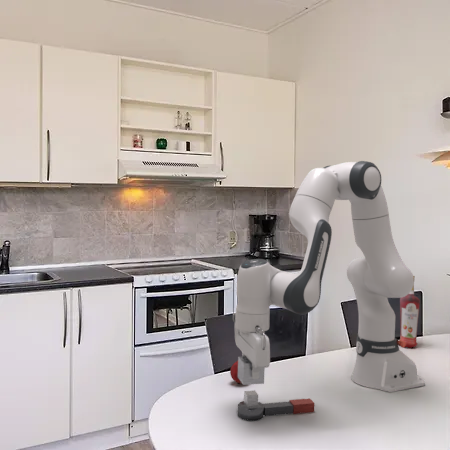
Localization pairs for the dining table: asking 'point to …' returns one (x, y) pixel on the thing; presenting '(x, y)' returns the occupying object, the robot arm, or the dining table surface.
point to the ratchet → (270, 407)
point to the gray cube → (248, 372)
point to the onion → (235, 372)
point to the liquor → (409, 318)
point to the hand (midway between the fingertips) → (250, 373)
